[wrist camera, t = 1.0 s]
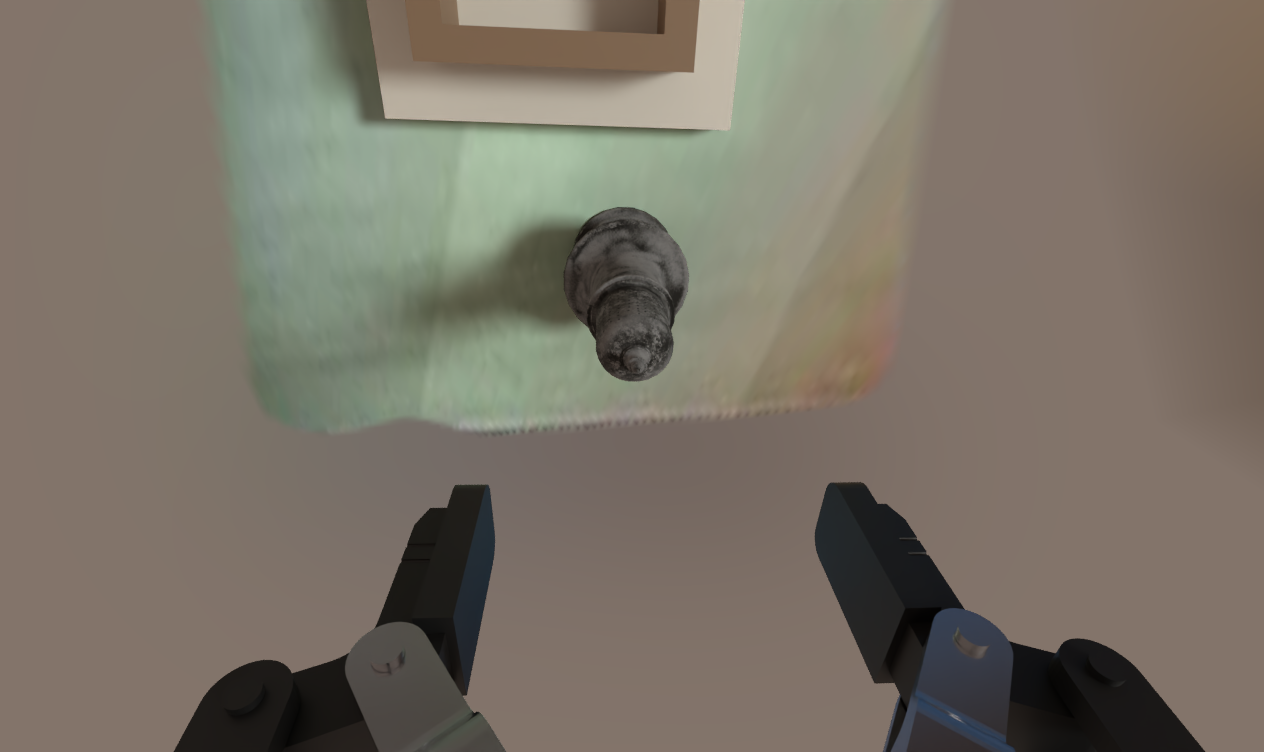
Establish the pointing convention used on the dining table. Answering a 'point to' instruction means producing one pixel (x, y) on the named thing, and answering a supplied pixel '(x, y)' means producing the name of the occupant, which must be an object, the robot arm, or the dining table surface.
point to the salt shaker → (627, 290)
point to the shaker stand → (559, 61)
